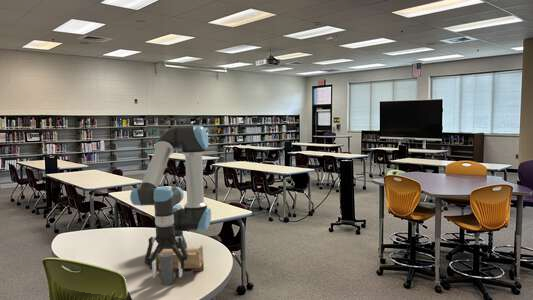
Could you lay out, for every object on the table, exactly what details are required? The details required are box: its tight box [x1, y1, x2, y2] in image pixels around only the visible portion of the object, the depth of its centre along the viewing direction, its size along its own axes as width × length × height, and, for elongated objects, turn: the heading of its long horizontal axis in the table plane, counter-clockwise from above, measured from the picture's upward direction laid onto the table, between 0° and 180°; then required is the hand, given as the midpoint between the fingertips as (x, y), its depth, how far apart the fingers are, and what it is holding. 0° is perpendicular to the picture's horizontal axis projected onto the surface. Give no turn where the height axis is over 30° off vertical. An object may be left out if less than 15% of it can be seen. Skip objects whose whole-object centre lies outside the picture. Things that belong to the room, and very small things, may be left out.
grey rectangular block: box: [160, 253, 178, 286], centre depth 168 cm, size 13×4×12 cm, turn 178°
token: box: [176, 268, 195, 278], centre depth 172 cm, size 6×6×3 cm
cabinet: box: [157, 245, 205, 279], centre depth 173 cm, size 8×18×11 cm, turn 88°
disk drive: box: [144, 254, 159, 271], centre depth 186 cm, size 10×3×15 cm
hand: (167, 276), depth 164 cm, fingers open, 10 cm apart
